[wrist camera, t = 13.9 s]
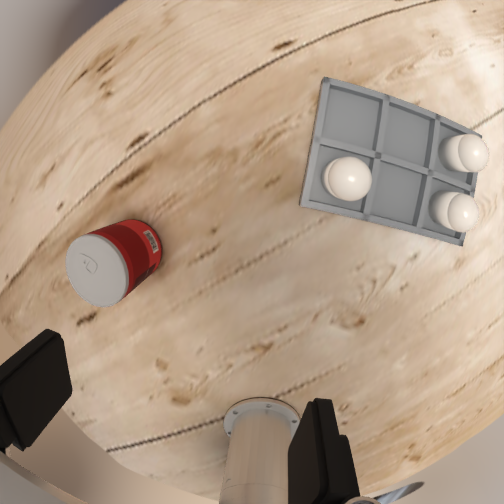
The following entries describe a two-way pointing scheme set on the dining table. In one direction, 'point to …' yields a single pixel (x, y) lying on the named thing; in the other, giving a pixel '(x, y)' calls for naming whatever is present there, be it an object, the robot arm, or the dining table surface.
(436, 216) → the seated egg
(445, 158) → the seated egg
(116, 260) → the canned food
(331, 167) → the loose egg
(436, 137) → the egg carton
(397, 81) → the dining table surface
